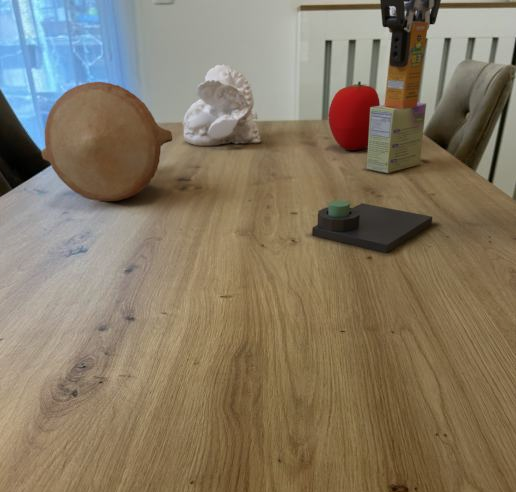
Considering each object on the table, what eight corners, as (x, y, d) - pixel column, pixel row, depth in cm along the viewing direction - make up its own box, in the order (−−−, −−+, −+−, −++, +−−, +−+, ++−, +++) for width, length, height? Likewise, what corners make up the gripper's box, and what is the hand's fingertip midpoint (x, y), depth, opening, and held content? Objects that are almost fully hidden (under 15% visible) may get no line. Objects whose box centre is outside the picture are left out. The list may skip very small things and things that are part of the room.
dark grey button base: (358, 209, 89) (360, 191, 88) (431, 224, 82) (434, 204, 81) (309, 234, 80) (309, 214, 78) (386, 253, 73) (388, 231, 72)
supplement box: (404, 110, 72) (412, 21, 67) (383, 107, 75) (389, 22, 69) (419, 106, 74) (429, 20, 69) (399, 104, 76) (406, 20, 71)
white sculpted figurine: (171, 98, 143) (233, 51, 135) (217, 164, 152) (277, 123, 144) (151, 114, 128) (219, 62, 120) (203, 186, 136) (269, 142, 128)
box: (397, 160, 117) (403, 100, 111) (420, 165, 113) (427, 102, 107) (365, 169, 111) (369, 106, 105) (387, 174, 107) (393, 109, 101)
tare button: (335, 210, 81) (336, 198, 80) (353, 214, 79) (353, 202, 78) (324, 216, 79) (324, 204, 78) (342, 219, 77) (342, 207, 76)
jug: (4, 141, 85) (53, 130, 112) (94, 234, 92) (120, 203, 119) (95, 50, 81) (123, 62, 108) (183, 154, 88) (189, 140, 115)
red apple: (365, 156, 121) (370, 85, 114) (318, 151, 126) (320, 83, 119) (385, 145, 130) (391, 79, 123) (341, 141, 135) (344, 77, 128)
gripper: (425, -117, 56) (407, 71, 65) (478, -102, 65) (455, 61, 74) (361, -106, 60) (352, 69, 69) (419, -93, 69) (404, 60, 78)
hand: (406, 64), depth 72 cm, fingers closed on supplement box, 3 cm apart
